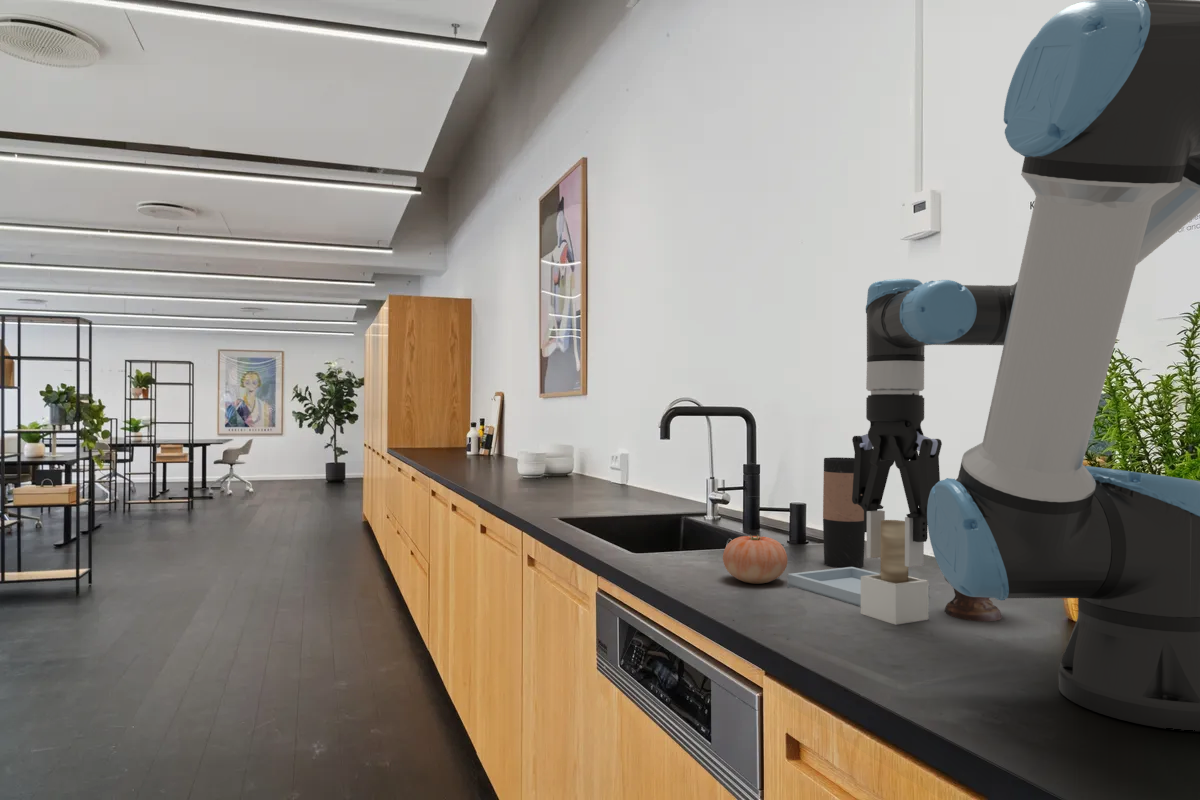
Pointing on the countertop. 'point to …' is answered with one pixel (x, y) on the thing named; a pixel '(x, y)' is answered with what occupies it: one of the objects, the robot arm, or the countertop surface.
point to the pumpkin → (755, 559)
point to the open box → (894, 599)
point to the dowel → (893, 551)
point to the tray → (832, 583)
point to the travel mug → (841, 516)
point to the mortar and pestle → (972, 608)
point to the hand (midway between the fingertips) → (894, 560)
